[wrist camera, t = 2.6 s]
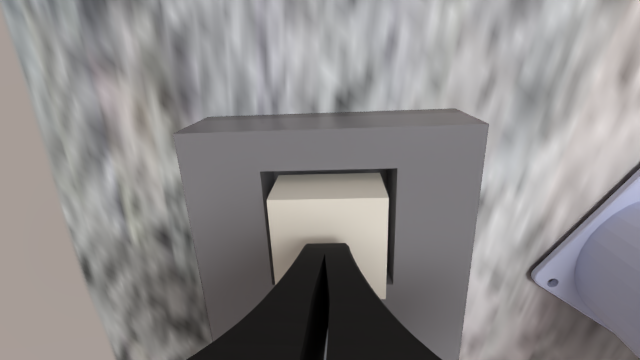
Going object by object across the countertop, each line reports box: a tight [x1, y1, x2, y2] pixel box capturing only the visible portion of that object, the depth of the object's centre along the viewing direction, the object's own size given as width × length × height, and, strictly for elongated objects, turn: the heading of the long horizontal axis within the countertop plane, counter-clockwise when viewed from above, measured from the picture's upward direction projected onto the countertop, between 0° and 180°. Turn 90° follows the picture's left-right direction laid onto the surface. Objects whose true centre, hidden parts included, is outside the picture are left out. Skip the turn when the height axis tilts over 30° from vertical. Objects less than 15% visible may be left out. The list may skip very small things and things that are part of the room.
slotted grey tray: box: [173, 109, 489, 360], centre depth 17 cm, size 22×11×4 cm, turn 2°
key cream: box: [267, 173, 389, 299], centre depth 13 cm, size 4×4×2 cm
